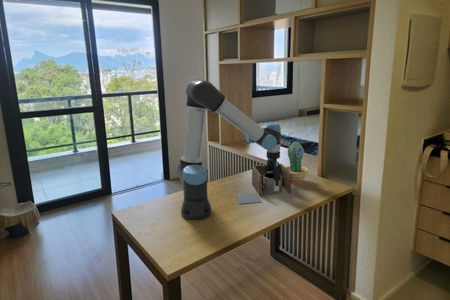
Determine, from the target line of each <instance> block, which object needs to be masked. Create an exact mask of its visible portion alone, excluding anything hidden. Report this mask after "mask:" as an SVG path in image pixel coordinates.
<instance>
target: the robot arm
mask: <svg viewBox="0 0 450 300" xmlns="http://www.w3.org/2000/svg"><path fill="white" fill-rule="evenodd" d="M185 93H186V107H187V109H188V115H187V123H186V133H185V141H184V150H183V155H182V156H181V157H180V158H179V164H178V166H177V175H178V178H179V179H180V181H181V183H182V187H183V189H182V190H183V201H182V206H181V208H180V215H181V217H182V218H183V219H186V220H191V221H192V220H193V221H195V220H196V221H197V220H199V221H200V220H204V219H206V218H208V217H210V216H211V214H212V210H213V209H212V205H211V203H210V201H209V198H208V172H207V169H206V168H205V167H204V166H203V159H202V157H201V153H202V145H203V138H204V131H205V130H204V129H205V122H206V112H207V111H211V112H212V113H214V114H215V113H217V114H218V115H219V116H220V117H222V119H225V120H226V121H227V122H228V123H230V124H231V125H232V126H234V127H235V128H236V129H237V130H239V131H240V132H242V133H243V134H245V140H246V142H247V143H248V144H256V145H258V146H259V147H262V148H263V149H264V150H266V159H267V160H266V165H267V166H266V169H267V171H268V172H267V173H269V172H272V169H273V174H274V191H279V180H281V179H280V170H279V164H280V161H279V162H278V159H280V158H281V147H282V145H281V132H282V131H281V129H282V128H281V124H280V123H278V122H270V123H267V124H266V127H261V126H260V125H259V124H258V123H257V122H255V121H254V120H253V119H252V118H250V117H249V116H248V115H246V114H245V113H244V112H242V111H241V110H240V109H239V108H238V107H236V106H235V105H234V104H232V103H231V102H230V101H228V100H227V97H226V95H225V94H224V93H222V92H221V91H220V90H219V89H218V88H217V87H216V86H215V85H214V84H213V83H211V82H210V81H208V80H204V79H194V80H192V81H191V82H189V83H188V84H187V86H186V91H185Z"/></svg>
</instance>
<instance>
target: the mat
mask: <svg viewBox="0 0 450 300" xmlns="http://www.w3.org/2000/svg"><path fill="white" fill-rule="evenodd" d="M235 198H236V200H237V203H238V204H239V205H246V204H258V203H260V202H261V203H262V200H261V198H260V196H259V195H258V193H257V192H250V193H249V192H248V193H238V194H237V193H236V194H235Z"/></svg>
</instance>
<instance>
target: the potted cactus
mask: <svg viewBox="0 0 450 300" xmlns="http://www.w3.org/2000/svg"><path fill="white" fill-rule="evenodd" d="M304 152H305V149H304V148H303V146H302V145H301V143H300V142H298V141H297V142H295V141H294V142H292V143H291V144H290V145H289V146H288V148H287V156H288V159H289V165H286V166H285V165H284V167H285V168H287V169H288V170H289V171H290V172H291V173H292V184H293V185H300V184H302V183H303V180H304V179H305V177H306V175H307V174H308V172H309V169H308V168H307V167H305V166H304V165H303V166H302V160H303V157H304Z"/></svg>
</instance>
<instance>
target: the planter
mask: <svg viewBox="0 0 450 300" xmlns="http://www.w3.org/2000/svg"><path fill="white" fill-rule="evenodd" d="M280 179H281V180H279V191H274V174H273V172H269V173H265V174H264V175H263V184H262V192H264V193H266V194H267V195H277V194H278V195H279V194H280V193H282V191H283V186H282V175H281V174H280Z"/></svg>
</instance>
